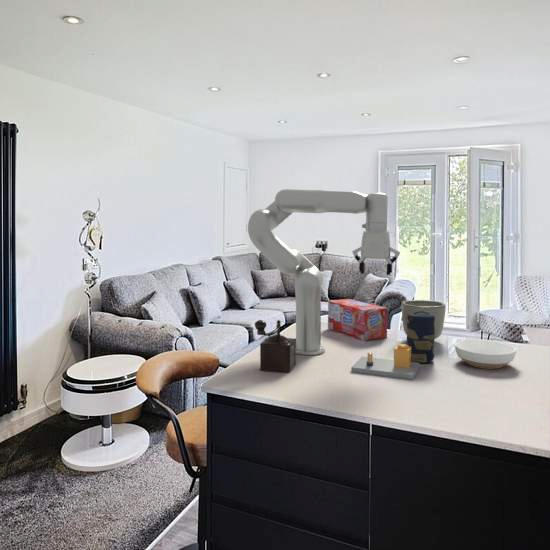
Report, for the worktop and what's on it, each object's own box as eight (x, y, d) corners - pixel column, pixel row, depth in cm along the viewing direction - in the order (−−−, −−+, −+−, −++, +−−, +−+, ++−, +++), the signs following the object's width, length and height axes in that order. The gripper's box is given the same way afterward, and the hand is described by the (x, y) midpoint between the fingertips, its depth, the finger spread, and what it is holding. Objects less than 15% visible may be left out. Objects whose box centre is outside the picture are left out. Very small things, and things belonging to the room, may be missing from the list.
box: (388, 338, 205) (389, 306, 203) (364, 342, 199) (364, 309, 197) (349, 326, 229) (349, 298, 227) (326, 329, 223) (326, 300, 221)
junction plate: (351, 371, 160) (351, 367, 159) (361, 360, 172) (361, 356, 172) (413, 379, 151) (413, 374, 151) (419, 367, 164) (419, 362, 164)
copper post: (365, 369, 162) (366, 353, 161) (367, 367, 164) (367, 352, 163) (372, 370, 161) (372, 354, 160) (373, 368, 163) (374, 352, 162)
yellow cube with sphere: (393, 366, 160) (394, 346, 160) (396, 362, 165) (396, 342, 164) (408, 367, 158) (409, 347, 158) (410, 364, 163) (411, 344, 162)
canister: (435, 365, 166) (437, 314, 164) (407, 363, 168) (408, 313, 166) (432, 357, 175) (433, 309, 173) (405, 356, 177) (406, 308, 175)
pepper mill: (266, 362, 171) (265, 312, 169) (296, 364, 168) (296, 313, 166) (253, 375, 156) (252, 321, 154) (286, 378, 153) (285, 322, 151)
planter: (409, 334, 211) (410, 298, 209) (449, 339, 201) (451, 302, 199) (394, 342, 197) (395, 304, 195) (436, 348, 187) (438, 308, 185)
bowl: (514, 359, 172) (515, 343, 172) (516, 375, 155) (517, 357, 154) (456, 353, 180) (457, 337, 180) (451, 368, 163) (452, 350, 162)
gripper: (350, 227, 175) (349, 274, 177) (398, 227, 168) (397, 276, 170) (355, 227, 182) (355, 272, 184) (402, 227, 175) (401, 274, 177)
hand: (375, 274), depth 177 cm, fingers open, 9 cm apart
